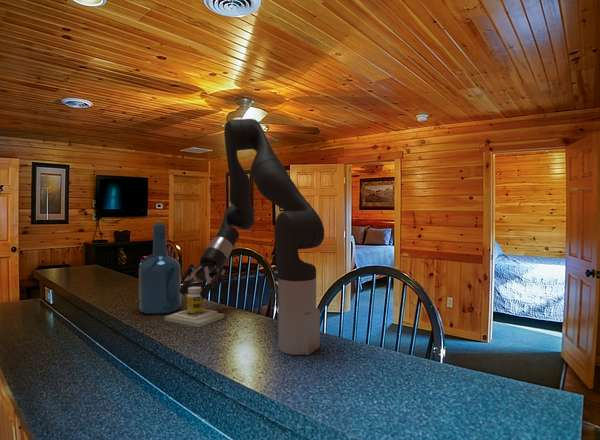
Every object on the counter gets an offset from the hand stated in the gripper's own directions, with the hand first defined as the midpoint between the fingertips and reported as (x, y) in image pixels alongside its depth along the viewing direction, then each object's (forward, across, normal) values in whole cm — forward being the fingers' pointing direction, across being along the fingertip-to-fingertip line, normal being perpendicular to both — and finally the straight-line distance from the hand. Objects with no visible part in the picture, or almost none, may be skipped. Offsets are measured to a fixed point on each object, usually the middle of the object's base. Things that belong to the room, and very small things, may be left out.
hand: (191, 295), depth 117 cm
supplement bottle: (+4, 0, +6) cm, 7 cm away
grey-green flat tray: (+5, 0, +6) cm, 8 cm away
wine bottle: (+3, -18, +8) cm, 20 cm away
